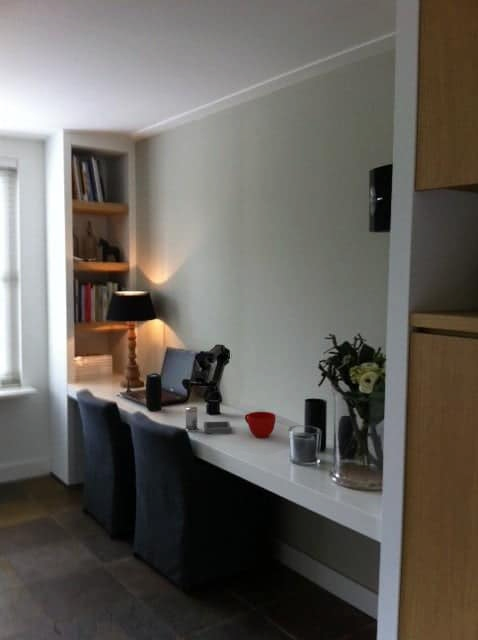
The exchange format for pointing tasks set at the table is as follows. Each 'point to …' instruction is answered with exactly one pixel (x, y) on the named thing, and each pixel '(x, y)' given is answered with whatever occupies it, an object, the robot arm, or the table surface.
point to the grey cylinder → (191, 419)
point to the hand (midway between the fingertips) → (196, 399)
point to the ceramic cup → (261, 423)
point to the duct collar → (217, 424)
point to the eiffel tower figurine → (127, 389)
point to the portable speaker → (153, 392)
